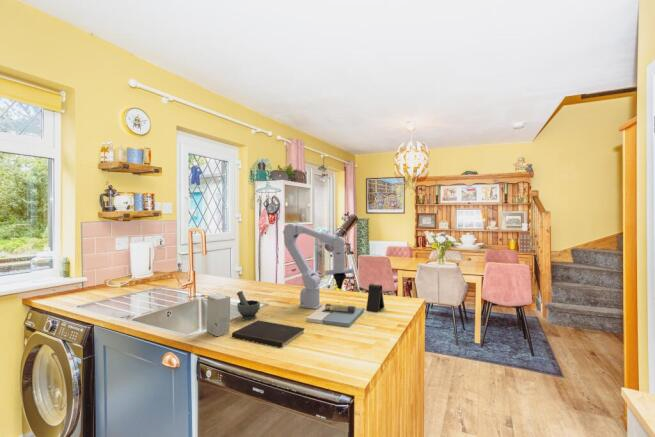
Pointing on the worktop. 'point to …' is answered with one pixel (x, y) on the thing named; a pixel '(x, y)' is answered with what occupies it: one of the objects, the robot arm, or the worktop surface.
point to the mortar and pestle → (247, 307)
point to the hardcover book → (268, 333)
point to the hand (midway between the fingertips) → (339, 288)
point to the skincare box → (218, 314)
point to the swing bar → (340, 308)
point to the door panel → (343, 317)
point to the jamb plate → (319, 315)
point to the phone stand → (375, 298)
